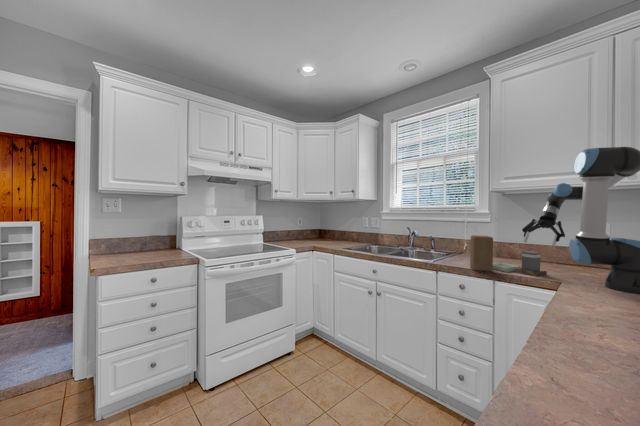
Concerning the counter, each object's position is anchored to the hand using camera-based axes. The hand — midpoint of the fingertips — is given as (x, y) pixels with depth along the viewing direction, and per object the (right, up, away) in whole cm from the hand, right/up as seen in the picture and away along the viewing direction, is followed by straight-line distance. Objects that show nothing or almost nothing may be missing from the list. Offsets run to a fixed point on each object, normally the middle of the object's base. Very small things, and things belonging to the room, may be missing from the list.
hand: (538, 243), depth 162 cm
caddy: (-7, -17, -4) cm, 18 cm away
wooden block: (-31, -16, +5) cm, 35 cm away
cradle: (-7, -16, -4) cm, 18 cm away
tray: (-17, -16, +7) cm, 24 cm away
